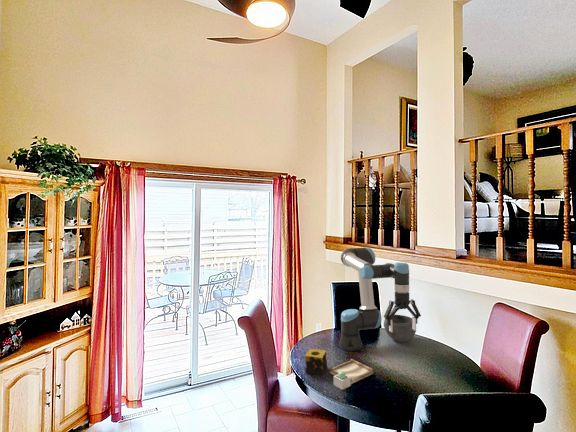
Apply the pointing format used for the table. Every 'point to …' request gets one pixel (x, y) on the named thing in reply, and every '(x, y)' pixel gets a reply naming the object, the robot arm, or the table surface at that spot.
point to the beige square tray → (352, 370)
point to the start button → (341, 375)
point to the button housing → (342, 382)
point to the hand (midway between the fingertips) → (402, 330)
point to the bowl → (400, 328)
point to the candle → (316, 362)
